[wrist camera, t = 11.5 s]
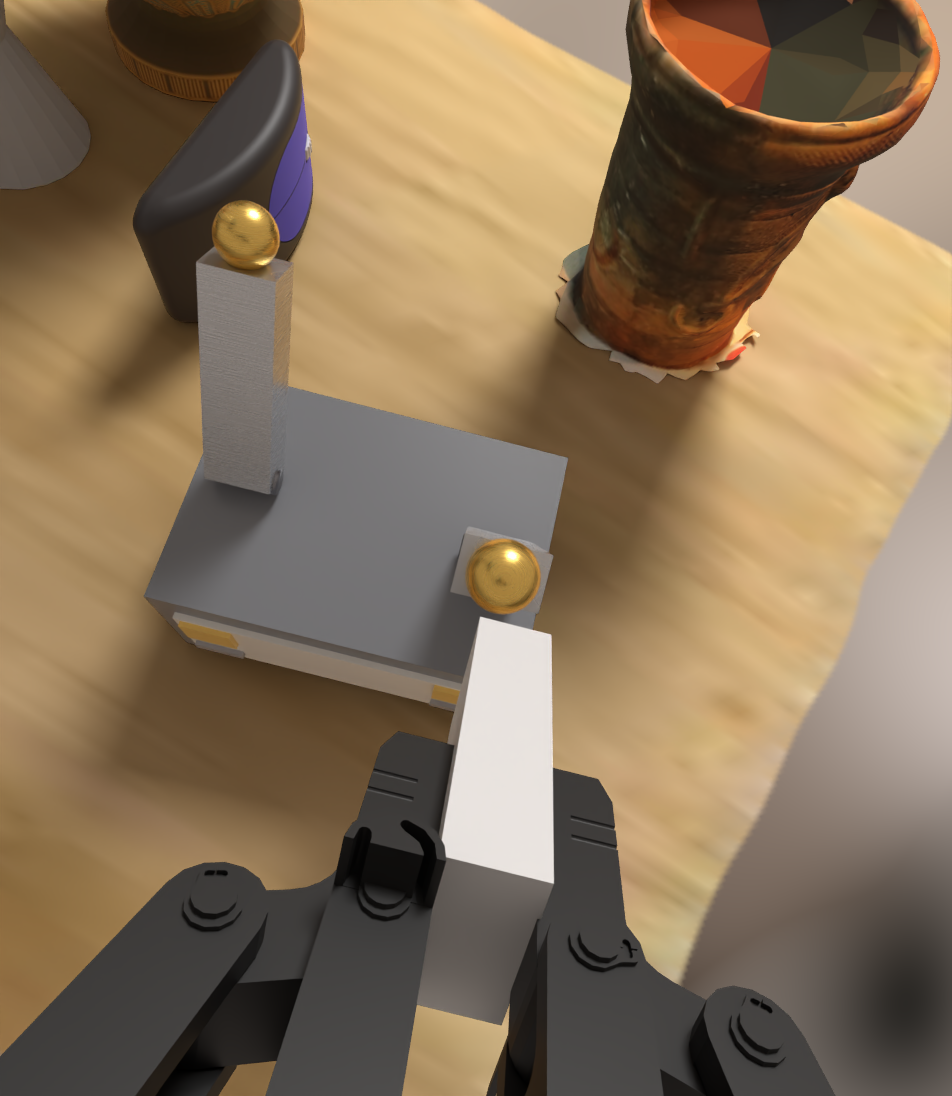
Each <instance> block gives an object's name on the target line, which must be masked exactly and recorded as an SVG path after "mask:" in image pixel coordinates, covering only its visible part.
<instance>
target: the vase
mask: <svg viewBox="0 0 952 1096" xmlns="http://www.w3.org/2000/svg"><path fill="white" fill-rule="evenodd" d="M106 16H107V21H108V26H109V30H110V33H111V36H112V39H113V42H114V45H115V48H116V51H117V53H118V55H119V56H120V58H121V59H122V61H123V63H124V64H125V66H126V67H127V69H128V70H129V71H131V72H132V73H133V74H134V75H135V76H136V77H138V78H139V79H140V80H141V81H142V82H143V83H145V84H147V85H149V86H151V87H153V88H155V89H157V90H159V91H161V92H163V93H165V94H169V95H173V96H177V97H181V98H184V99H188V100H200V101H214V102H216V101H218V100H219V99H220V98H221V97H222V95H223V94H224V93H225V92H226V90H227V89H228V88H229V87H230V85H231V84H232V83H233V82H234V80H235V79H236V78H237V77H238V75H239V74H240V73H241V72H242V70H243V69H244V68H245V67H246V65H247V64H248V63H249V62H250V60H251V59H252V58H253V57H254V55H255V54H256V53H257V52H258V50H259V49H260V48H261V47H262V46H263V45H264V44H265V43H267V42H269V41H271V40H283V41H285V42H287V43H288V44H289V45H290V46H291V47H292V48H293V50H294V51H295V53H296V55H297V58H298V61H299V59H300V57H301V55H302V53H303V51H304V42H305V26H304V16H303V8H302V5H301V2H300V0H108V1H107V6H106Z"/></svg>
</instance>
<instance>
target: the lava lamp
mask: <svg viewBox="0 0 952 1096" xmlns="http://www.w3.org/2000/svg"><path fill="white" fill-rule="evenodd" d="M90 139H91V134H90V131H89V127H88V123H87V121H86V120H85V119H84V117H83V116H82V115H81V114H80V113H79V111H78V110H77V109H76V108H75V106H74V105H73V104H72V103H71V102H70V100H69V99H68V98H67V97H66V96H65V94H64V93H63V92H62V91H61V90H60V88H59V87H58V86H57V85H56V84H55V82H54V81H53V80H52V79H51V78H50V76H49V75H48V74H47V73H46V72H45V70H44V69H43V68H42V67H41V66H40V64H39V63H38V62H37V61H36V60H35V58H34V57H33V56H32V55H31V54H30V52H29V51H28V50H27V49H26V48H25V46H24V45H23V44H22V43H21V42H20V40H19V39H18V38H17V37H16V36H15V34H14V33H13V32H12V31H11V30H10V28H9V27H8V26H7V25H6V20H5V10H4V0H0V188H1V189H22V190H24V189H29V188H34V187H40V186H45V185H48V184H50V183H52V182H54V181H57V180H59V179H61V178H64V177H65V176H66V175H68V174H69V173H70V172H71V171H73V170H74V169H75V168H76V167H78V166H79V165H80V163H81V162H82V160H83V159H84V157H85V156H86V154H87V152H88V151H89V145H90Z"/></svg>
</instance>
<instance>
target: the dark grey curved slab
mask: <svg viewBox="0 0 952 1096" xmlns="http://www.w3.org/2000/svg"><path fill="white" fill-rule="evenodd" d="M311 152H312V146H311V139H310V137H309V135H308V131H307V122H306V113H305V104H304V95H303V86H302V77H301V70H300V65H299V61H298V58H297V55H296V53H295V51H294V50H293V48H292V47H291V46H290V45H289V44H288V43H287V42H285V41H283V40H271V41H269V42H267V43H265V44H264V45H263V46H262V47H261V48H260V49H259V50H258V52H257V53H256V54H255V55H254V57H253V58H252V59H251V60H250V62H249V63H248V64H247V65H246V67H245V68H244V69H243V70H242V72H241V73H240V74H239V75H238V77H237V78H236V79H235V80H234V82H233V83H232V84H231V85H230V87H229V88H228V89H227V90H226V92H225V93H224V94H223V95H222V97H221V98H220V99H219V100H218V102H217V103H216V104H215V105H214V107H213V108H212V109H211V110H210V112H209V113H208V114H207V115H206V117H205V118H204V119H203V120H202V122H201V123H200V124H199V125H198V127H197V128H196V129H195V130H194V132H193V133H192V134H191V135H190V137H189V138H188V139H187V140H186V142H185V143H184V144H183V145H182V147H181V148H180V149H179V150H178V152H177V153H176V154H175V155H174V156H173V158H172V159H171V160H170V161H169V163H168V164H167V165H166V166H165V168H164V169H163V170H162V171H161V173H160V174H159V175H158V176H157V178H156V179H155V180H154V181H153V183H152V184H151V185H150V186H149V188H148V189H147V190H146V191H145V193H144V194H143V195H142V197H141V199H140V200H139V202H138V204H137V207H136V210H135V213H134V217H133V228H134V231H135V234H136V236H137V238H138V241H139V243H140V246H141V248H142V251H143V253H144V256H145V258H146V261H147V263H148V266H149V268H150V270H151V273H152V275H153V278H154V280H155V283H156V285H157V288H158V290H159V293H160V295H161V298H162V300H163V303H164V305H165V307H166V310H167V312H168V313H169V315H170V316H171V317H173V318H174V319H176V320H178V321H181V322H198V302H197V276H196V261H198V260H199V259H200V258H201V257H202V256H204V255H205V254H206V253H207V252H208V251H209V250H211V249H212V248H213V247H214V243H213V239H212V225H213V221H214V218H215V216H216V215H217V213H218V212H219V210H220V209H221V208H223V207H224V206H225V205H227V204H229V203H231V202H234V201H239V200H245V201H251V202H254V203H256V204H259V205H260V206H262V207H263V208H265V209H266V210H267V211H268V212H269V213H270V214H271V215H272V217H273V218H274V220H275V222H276V224H277V227H278V230H279V235H280V243H279V248H278V251H277V254H276V256H275V257H274V258H276V259H280V260H284V261H286V260H287V259H288V257H289V256H290V254H291V253H292V251H293V250H294V248H295V246H296V245H297V243H298V241H299V239H300V237H301V235H302V233H303V230H304V228H305V226H306V223H307V220H308V216H309V213H310V208H311V204H312V196H313V176H312V167H311V158H310V156H311Z"/></svg>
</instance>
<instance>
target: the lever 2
mask: <svg viewBox="0 0 952 1096" xmlns="http://www.w3.org/2000/svg"><path fill="white" fill-rule="evenodd" d="M553 556H554V555H552V554H550V553H549V552H547V551H545V550H544V549H542V548H540V547H539V546H537V545H535V544H534V543H532V542H529V541H525V540H521V539H517V538H513V537H509V536H505V535H501V534H497V533H493V532H489V531H485V530H481V529H478V528H474V527H470V526H468V527H467V530H466V532H465V534H464V535H463V539H462V542H461V546H460V550H459V554H458V558H457V560H458V563H457V567H456V571H455V575H454V579H453V583H452V587H451V591H450V592H453V593H457V594H461V595H465V596H469V597H472V599H473V600H474V601H475V602H476V604H478V605H479V606H480V607H481V608H483V609H484V610H487V611H489V612H492V613H495V614H511V613H514V612H517V611H519V610H524V611H528V612H532V613H536V614H538V613H539V610H540V606H541V602H542V598H543V594H544V590H545V586H546V583H547V579H548V575H549V571H550V567H551V563H552V559H553Z"/></svg>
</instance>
